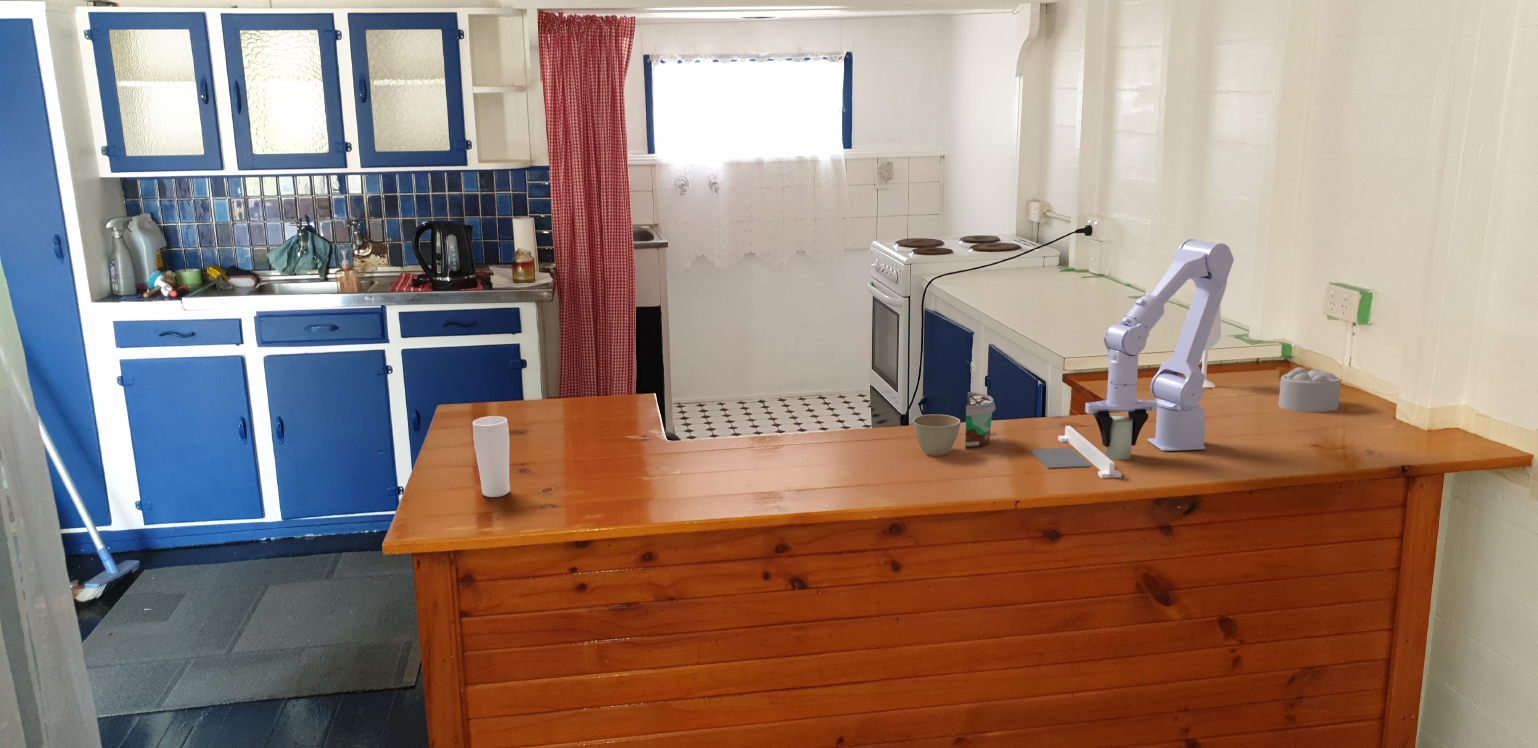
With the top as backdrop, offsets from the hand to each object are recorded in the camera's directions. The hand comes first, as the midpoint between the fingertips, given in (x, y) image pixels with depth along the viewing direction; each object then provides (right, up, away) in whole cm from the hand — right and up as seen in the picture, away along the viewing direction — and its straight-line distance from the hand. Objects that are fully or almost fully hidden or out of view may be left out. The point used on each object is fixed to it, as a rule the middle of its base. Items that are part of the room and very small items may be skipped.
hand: (1118, 444), depth 234 cm
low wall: (-6, -3, 0) cm, 7 cm away
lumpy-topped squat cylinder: (+55, +7, +34) cm, 65 cm away
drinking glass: (-127, -9, -14) cm, 128 cm away
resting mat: (-12, -3, 0) cm, 13 cm away
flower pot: (-37, -2, +6) cm, 38 cm away
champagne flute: (+39, +12, +54) cm, 68 cm away
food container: (-27, -1, +11) cm, 29 cm away
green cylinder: (0, -2, +1) cm, 2 cm away
